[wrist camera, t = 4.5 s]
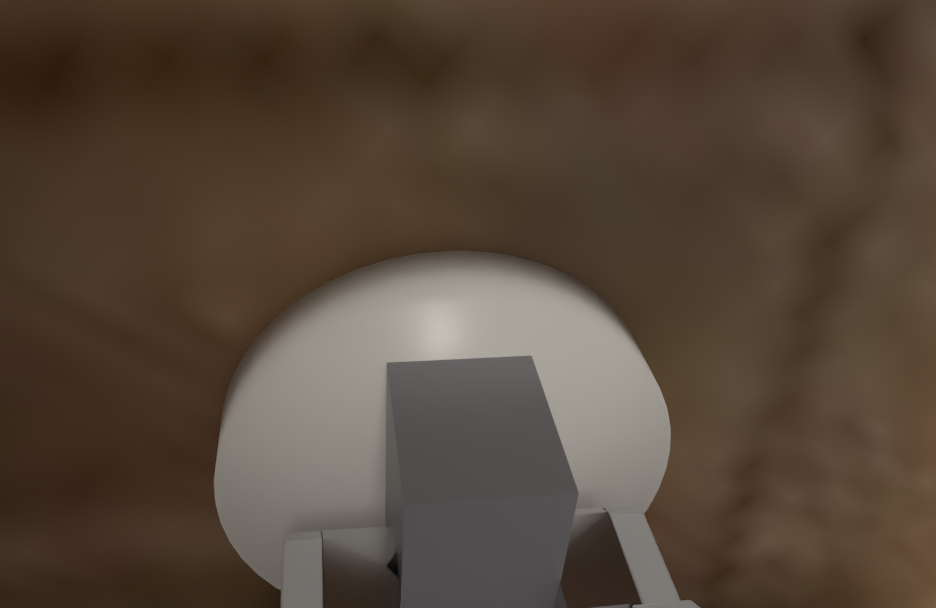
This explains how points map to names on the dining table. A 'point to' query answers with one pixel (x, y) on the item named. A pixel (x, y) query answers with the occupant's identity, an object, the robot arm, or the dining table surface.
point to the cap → (441, 424)
